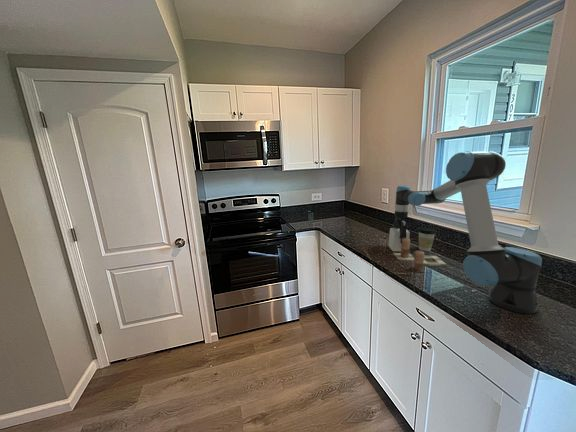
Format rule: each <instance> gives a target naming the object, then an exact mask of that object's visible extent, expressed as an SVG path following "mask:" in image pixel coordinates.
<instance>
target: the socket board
mask: <svg viewBox="0 0 576 432" xmlns="http://www.w3.org/2000/svg"><path fill="white" fill-rule="evenodd" d="M427 260H433V261H427ZM424 266H427V267H428V266H429V267H447V263H446V262H444V261H443V260H442V259H440V257H438V256H437V255H424V261H423V267H424Z"/></svg>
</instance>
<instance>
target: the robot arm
mask: <svg viewBox="0 0 576 432" xmlns="http://www.w3.org/2000/svg"><path fill="white" fill-rule="evenodd" d="M505 169H506V159H505V158H504V157H503V156H502V155H501V154H500V153H499V152H495V151H490V150H489V151H462V152H457V153H455V154H454V155H452V156H451V158H450V159H449V160H448V162H447V164H446V167H445V174H446V177H447V179H449V180H448V181H447V182H444V183H442V184H441V185H439V186H437V187H435V188H434V189H431V190H416V191H415V190H411V186H409V185H398V186H397V187H396V192H395V203H394V204H395V205H394V222H393V228H399V229H400V237H399V248H401V245H402V238H406V230H407V223H408V222H407V221H405V219H407V218H408V215H409V208H410V205H412V206H417V207H418V206H421V205H429V204H432V205H433V204H442V203H444V202H445V201H446V199H447V198H450V197H453V196H454V195H457V194H459V193H460V194H461V199H462V204H463V210H464V215H465V216H464V217H465V220H466V226H467V232H468V236H469V243H470V247H469V248H468V249H467V256H466V257H465V258H464V260H463V262H462V268H463V271H464V273H465V275H466V277H467V278H468V279H470V280H471V281H472V282H473V283H475V284H477V285H479V286H492V287H491V288H490V290H489V292H488V300H489V301H490V302H492V303H493V305H496V306H498V307H500V308H502V309H504V310H507V311H509V310H510V311H509V312H513V311H514V312H513V313H517V312H519V313H518V314H523V313H525V314H524V315H528V314H529V315H533V314H535V313H537V311H538V308H539V304H538V300H537V295H536V288H537V284H538V279H539V276H540V272H541V269H542V262H543V258H542V257H541V255H540V254H538V253H536V252H533V251H531V250H527V249H521V248H519V247H513V246H505V247H502V246H501V245H500V244H499V241H498V236H497V231H496V227H495V221H494V217H493V212H492V207H491V203H490V202H491V201H490V196H489V193H488V189H487V185H488V183H490V181H493V180H494V179H496V178H499V177H500V176H501V175H502V174H503V173H504V171H505Z"/></svg>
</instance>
